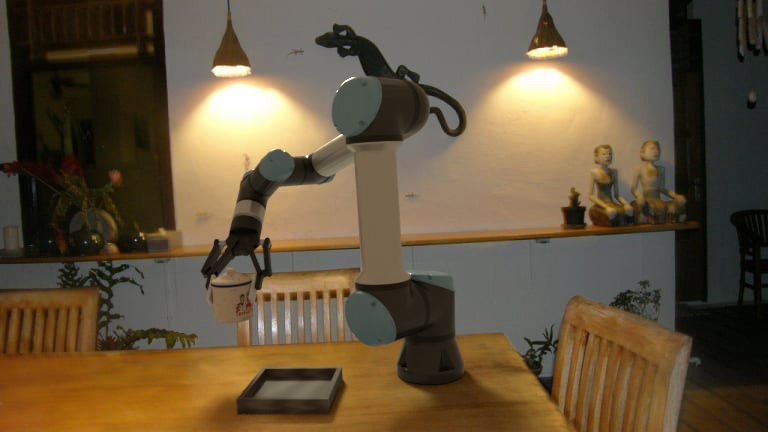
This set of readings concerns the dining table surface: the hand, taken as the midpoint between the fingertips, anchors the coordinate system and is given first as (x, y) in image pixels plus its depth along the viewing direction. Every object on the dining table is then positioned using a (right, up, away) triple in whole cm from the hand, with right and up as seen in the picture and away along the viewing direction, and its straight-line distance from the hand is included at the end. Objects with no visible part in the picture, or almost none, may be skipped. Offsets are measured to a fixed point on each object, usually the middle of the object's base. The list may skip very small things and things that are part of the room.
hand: (230, 301), depth 137 cm
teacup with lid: (+1, -4, +4) cm, 6 cm away
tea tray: (+16, -18, -10) cm, 26 cm away
